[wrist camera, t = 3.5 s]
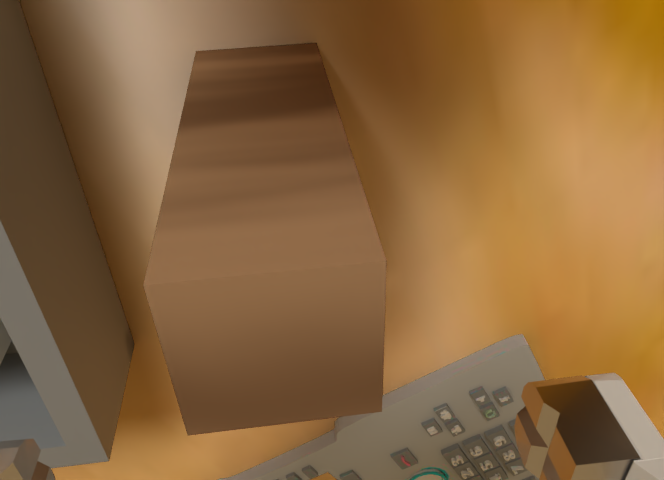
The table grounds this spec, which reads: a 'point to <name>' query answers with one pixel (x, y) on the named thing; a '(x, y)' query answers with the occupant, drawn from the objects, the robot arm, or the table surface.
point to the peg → (266, 250)
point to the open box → (51, 277)
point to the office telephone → (427, 427)
